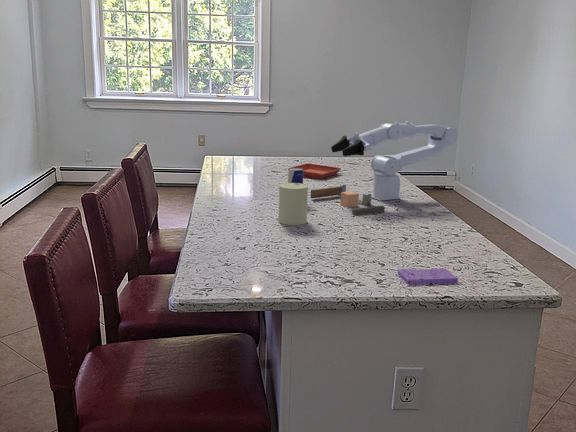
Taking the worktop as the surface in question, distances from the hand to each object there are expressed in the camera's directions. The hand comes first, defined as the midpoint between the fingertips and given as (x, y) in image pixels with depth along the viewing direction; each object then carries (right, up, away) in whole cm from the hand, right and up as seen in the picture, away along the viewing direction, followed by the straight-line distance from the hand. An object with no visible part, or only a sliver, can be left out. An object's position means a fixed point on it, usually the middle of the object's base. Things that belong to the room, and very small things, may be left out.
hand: (337, 151), depth 214 cm
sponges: (+16, -38, -69) cm, 81 cm away
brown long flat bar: (-4, -15, +11) cm, 19 cm away
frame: (+7, -17, +9) cm, 20 cm away
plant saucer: (-6, -5, +56) cm, 56 cm away
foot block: (+4, -19, +1) cm, 20 cm away
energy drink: (-15, -18, +3) cm, 24 cm away
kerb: (+10, -22, -9) cm, 26 cm away
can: (-16, -25, -22) cm, 37 cm away
